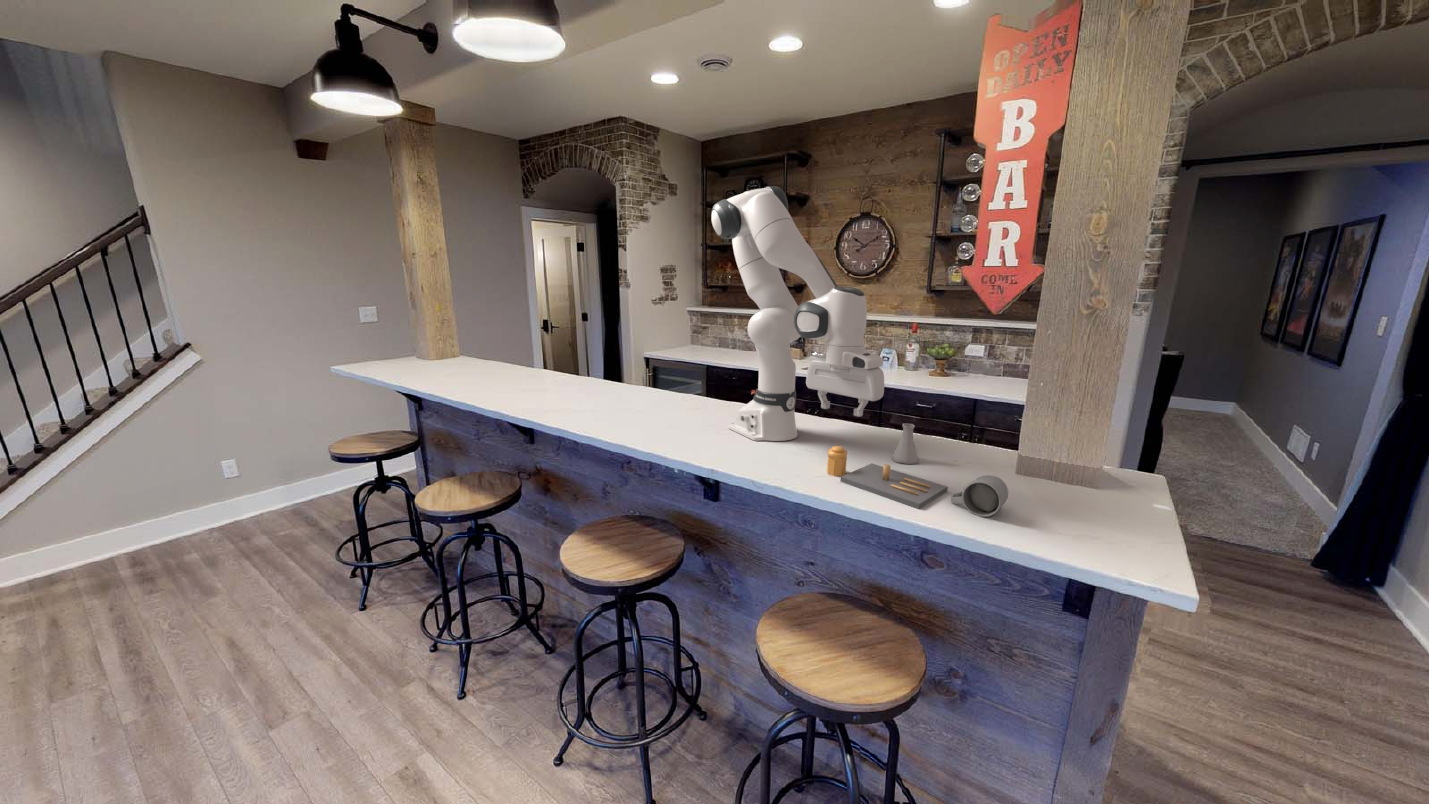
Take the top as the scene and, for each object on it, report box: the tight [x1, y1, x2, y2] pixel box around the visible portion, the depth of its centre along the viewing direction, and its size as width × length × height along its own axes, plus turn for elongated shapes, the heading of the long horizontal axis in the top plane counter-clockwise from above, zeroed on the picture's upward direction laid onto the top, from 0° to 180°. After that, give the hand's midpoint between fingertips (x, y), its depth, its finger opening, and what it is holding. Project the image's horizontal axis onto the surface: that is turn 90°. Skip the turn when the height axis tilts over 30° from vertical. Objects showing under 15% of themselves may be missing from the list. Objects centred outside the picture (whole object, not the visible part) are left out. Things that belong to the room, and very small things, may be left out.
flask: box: [891, 423, 920, 465], centre depth 143 cm, size 7×7×10 cm
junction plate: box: [840, 462, 949, 510], centre depth 126 cm, size 20×14×5 cm
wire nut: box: [826, 445, 848, 477], centre depth 134 cm, size 5×5×7 cm
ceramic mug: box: [950, 474, 1009, 518], centre depth 115 cm, size 11×8×8 cm
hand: (841, 412), depth 131 cm, fingers open, 8 cm apart
